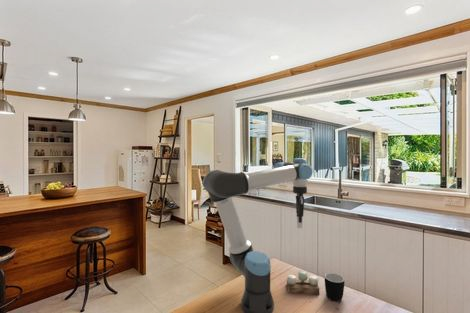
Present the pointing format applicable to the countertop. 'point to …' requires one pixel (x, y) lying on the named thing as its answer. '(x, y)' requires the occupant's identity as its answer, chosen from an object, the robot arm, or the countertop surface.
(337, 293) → the mug
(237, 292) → the countertop surface
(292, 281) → the knob left
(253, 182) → the robot arm
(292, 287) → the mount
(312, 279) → the knob right
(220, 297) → the countertop surface
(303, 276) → the knob mid
